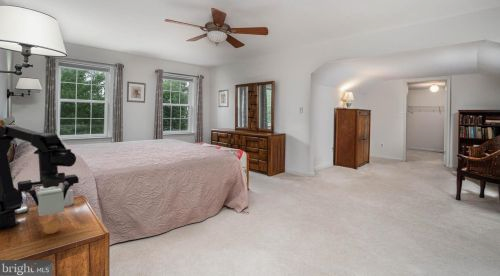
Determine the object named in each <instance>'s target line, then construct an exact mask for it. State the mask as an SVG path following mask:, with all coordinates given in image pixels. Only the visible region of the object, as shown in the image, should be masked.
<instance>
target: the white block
mask: <svg viewBox="0 0 500 276" xmlns="http://www.w3.org/2000/svg"><path fill="white" fill-rule="evenodd" d="M36 195H37V199H38V206H37V211H38V215H39V217H43V216H48V215H53V214H59V213H62V212H65V207H64V196H63V191H62V187H56V189H51V190H45V191H40V190H39V191H36Z"/></svg>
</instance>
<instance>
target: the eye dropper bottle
mask: <svg viewBox="0 0 500 276" xmlns="http://www.w3.org/2000/svg"><path fill="white" fill-rule="evenodd" d="M73 204H74V190H73V189H71V188H69V189H68V191H67V194H66V196H65V199H64V208H65V207H69V206H72V205H73Z"/></svg>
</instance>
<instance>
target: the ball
mask: <svg viewBox="0 0 500 276" xmlns="http://www.w3.org/2000/svg"><path fill="white" fill-rule="evenodd" d="M60 227H61V226H60V223H59V222H58V221H56V220H51V221H48V222H47V223H45V225H44V227H43V231H44V232H45V234H48V235H52V234H56V233H57V232H58V231H59V229H60Z"/></svg>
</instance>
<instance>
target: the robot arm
mask: <svg viewBox="0 0 500 276" xmlns="http://www.w3.org/2000/svg"><path fill="white" fill-rule="evenodd" d="M15 139H18V140H21V141H24V142H27V143H29V144H30V145H31V146H32V147H34V148H36V150H35V151H33V154H34V155H37V157H38V167H39V170H38V171H39V181H32V180H31V179H28V180H22V181H18V182H17V188H16V187H15V186H14V180H13V176H12V173H11V172H12V171H11V166H10V161H9V156H8V152H9V151H10V149H11V146H12V145H11V142H13V141H14V140H15ZM76 161H77V157H76V154H75V153H73V152H72V149H70V148H67V147H66V146H65V144H64V143H63V142H62V141H61V139H60V138H59V135H58V134H57V133H54V132H53V133H52V132H39V131H38V132H37V131H34V130H31V129H29V128H28V129H27V128H23V127H20V126H18V125H15V124H3V125H0V231H4V230H7V229H9V228H12V227H15V226H18V225H20V224H21V222H19V221H16V218H17V217H16V211H17V210H20V209H21V208H22V205H23V202H24V201H23V200H24V197H23V194H22V192H24V193H25V194H26V193H28V194H30V196H31V197H32V198H33V201H34V203H35V204H36V206H37V207H38V199H37V191H36V187H40V186H43V187H44V188H49V187H56V188H58V187H59V186H60V184H62V188H61V190H62V191H63V196H64V199H65V196H66V194H67V191H68V189H71V187H72V186H74V184H79V182H80V180H79V177H78V175H76V174H67V175H66V174H65V172H59V171H58V170H59V167H69V168H70V167H72V166H74V165H75V164H76Z"/></svg>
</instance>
